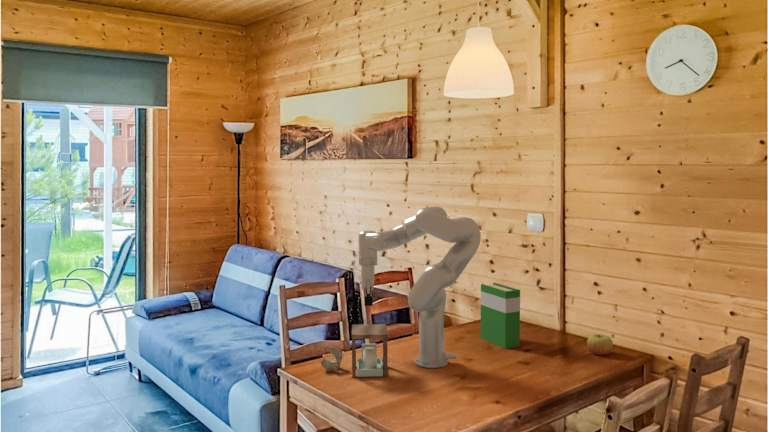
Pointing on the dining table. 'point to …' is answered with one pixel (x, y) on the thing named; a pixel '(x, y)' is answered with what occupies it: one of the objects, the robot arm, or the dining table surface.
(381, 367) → the grey armchair
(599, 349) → the apple
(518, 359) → the dining table surface
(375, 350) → the pale upright block
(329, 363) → the grey curved piece
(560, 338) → the dining table surface
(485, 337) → the hardback book
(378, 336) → the small wooden stool
